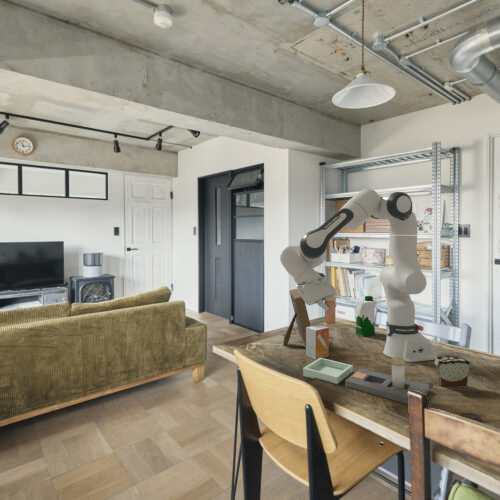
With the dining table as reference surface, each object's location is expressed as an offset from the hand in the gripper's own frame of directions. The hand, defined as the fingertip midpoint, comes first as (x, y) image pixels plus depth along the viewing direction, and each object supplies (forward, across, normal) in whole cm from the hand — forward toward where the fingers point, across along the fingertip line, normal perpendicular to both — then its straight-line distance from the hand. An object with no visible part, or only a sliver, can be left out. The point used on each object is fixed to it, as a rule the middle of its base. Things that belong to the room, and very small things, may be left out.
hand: (331, 308), depth 134 cm
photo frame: (-4, +27, +40) cm, 49 cm away
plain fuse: (+35, 0, 0) cm, 35 cm away
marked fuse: (+4, 0, +5) cm, 7 cm away
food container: (+44, +19, -8) cm, 49 cm away
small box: (+9, +16, +28) cm, 33 cm away
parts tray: (+17, 0, +19) cm, 26 cm away
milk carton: (+12, +60, +24) cm, 66 cm away
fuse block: (+33, 0, +3) cm, 33 cm away
